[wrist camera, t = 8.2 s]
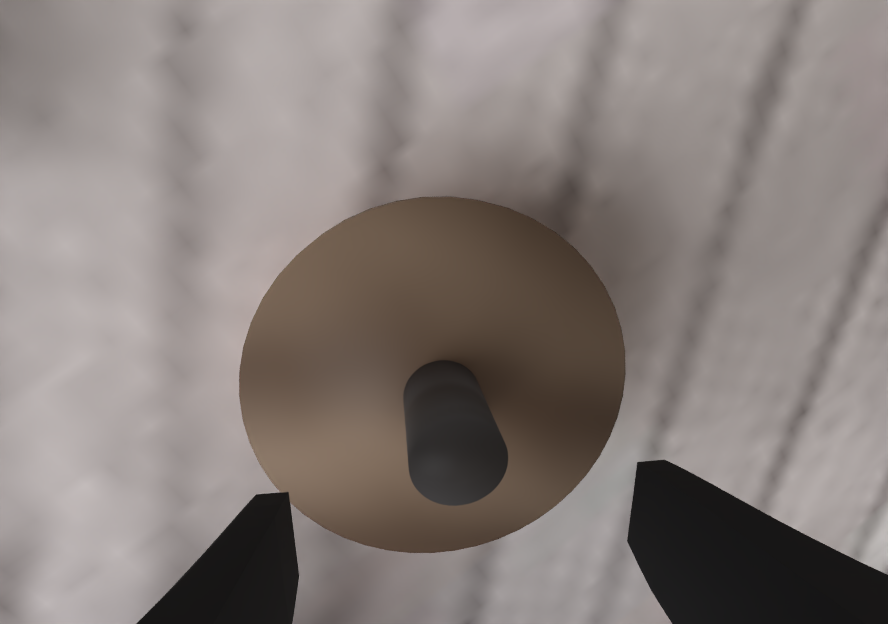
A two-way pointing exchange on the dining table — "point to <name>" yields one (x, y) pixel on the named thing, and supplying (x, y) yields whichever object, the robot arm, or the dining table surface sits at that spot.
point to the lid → (432, 374)
